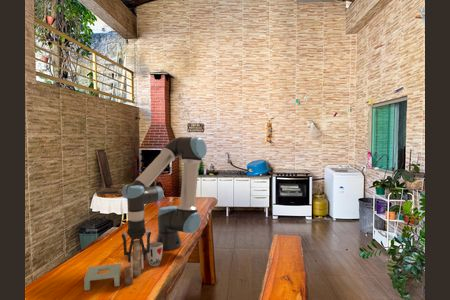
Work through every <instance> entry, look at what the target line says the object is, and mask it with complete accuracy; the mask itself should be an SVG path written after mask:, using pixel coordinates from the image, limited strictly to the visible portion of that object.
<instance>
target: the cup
mask: <svg viewBox="0 0 450 300" xmlns="http://www.w3.org/2000/svg"><path fill="white" fill-rule="evenodd" d="M162 248H163V244H162V243H161V242H156V241H154V242H153V241H151V242H150V252H149V253H146V257H147V261H148V263H149V266H151V267H158V266H159V265H160V264H161V261H162V256H163V250H162ZM145 249H147V244H146V247H145Z"/></svg>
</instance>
